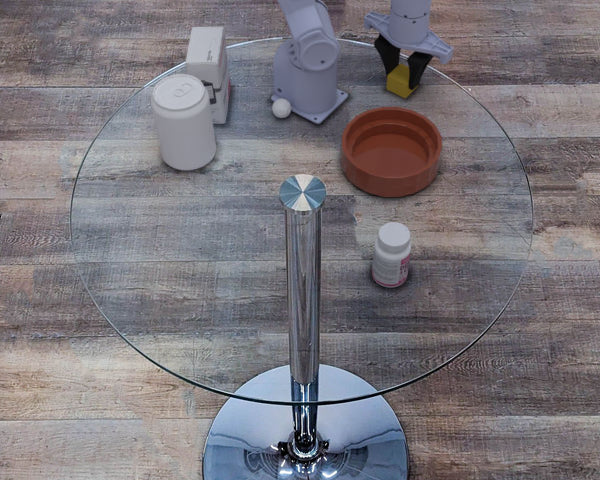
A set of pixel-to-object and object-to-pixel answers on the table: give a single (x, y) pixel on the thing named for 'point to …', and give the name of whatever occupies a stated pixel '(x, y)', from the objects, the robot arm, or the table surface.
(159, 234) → the table surface
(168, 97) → the beverage can
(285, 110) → the white ball
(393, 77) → the cube
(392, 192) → the bowl
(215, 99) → the ink box
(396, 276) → the pill bottle
